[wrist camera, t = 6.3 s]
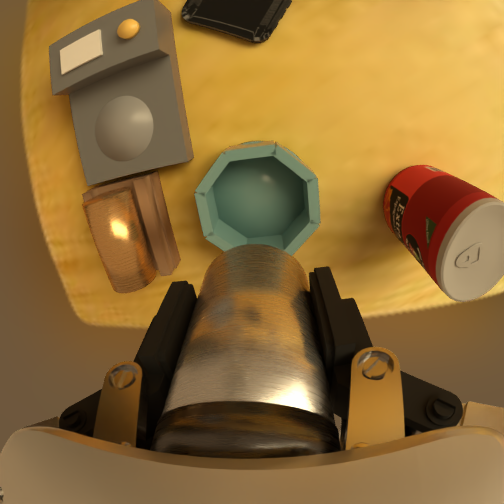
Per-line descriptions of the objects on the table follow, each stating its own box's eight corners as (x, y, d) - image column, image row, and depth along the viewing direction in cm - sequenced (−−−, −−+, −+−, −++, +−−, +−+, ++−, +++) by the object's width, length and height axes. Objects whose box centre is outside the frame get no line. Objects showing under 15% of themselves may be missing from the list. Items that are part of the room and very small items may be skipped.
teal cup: (197, 149, 22) (185, 156, 19) (307, 135, 21) (315, 139, 18) (216, 247, 26) (210, 268, 23) (315, 236, 26) (322, 256, 22)
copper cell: (99, 193, 23) (72, 209, 19) (139, 183, 22) (115, 199, 18) (126, 273, 26) (107, 299, 23) (164, 270, 26) (149, 297, 22)
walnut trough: (95, 186, 24) (80, 195, 21) (157, 170, 23) (145, 177, 21) (121, 266, 28) (110, 280, 25) (180, 259, 27) (172, 274, 25)
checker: (76, 51, 17) (44, 45, 13) (170, 12, 16) (150, -7, 12) (98, 180, 24) (69, 196, 19) (194, 157, 23) (177, 168, 18)
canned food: (368, 185, 23) (429, 238, 13) (434, 149, 21) (514, 180, 11) (395, 251, 26) (446, 321, 16) (453, 215, 24) (519, 268, 14)
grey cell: (191, 249, 11) (100, 464, 3) (306, 236, 11) (365, 476, 3) (214, 333, 13) (182, 511, 5) (310, 325, 13) (335, 511, 5)
